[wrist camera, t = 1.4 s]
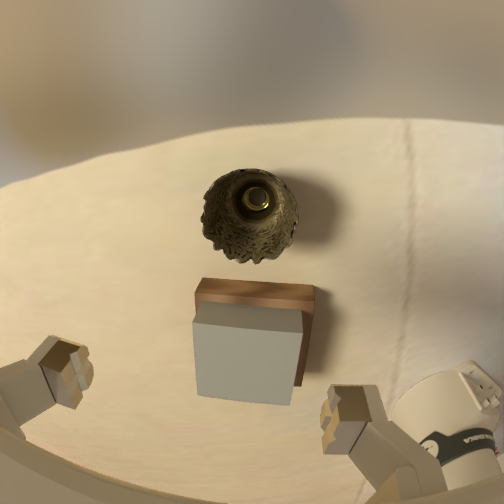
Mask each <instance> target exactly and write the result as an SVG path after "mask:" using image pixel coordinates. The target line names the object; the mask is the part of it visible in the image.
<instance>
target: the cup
mask: <svg viewBox="0 0 504 504" xmlns="http://www.w3.org/2000/svg"><path fill="white" fill-rule="evenodd" d="M254 189H260V190H262V191H263V192H264V193H265V201H264V203H263V204H261V205H254V204H252V203H251V202H250V200H249V194H250V192H251V191H252V190H254ZM203 199H205V200H206V201H205V205H204V212H203V215H202V216H201V222H202V223H203V230H202V232H203V235H204V237H205V238H207V239H209V240H211V241H213V249H214V250H218V251H219V250H220V249H223V252H224V254H225V255H226V257H227V258H228V259H229V260H232V259H236V261H237V262H239V263H245V262H247V261H249V260H250V259H252V260H253V263H254V264H259V263H260V262H261V260H262V259H268V260H273V259H276V258H277V257H278V256H279V255H280V254H281V253H282V252H283V250H284V249H285V248H288V247H289V246H290V245H291V244H292V241H293V239H292V235H293V232H294V231H295V228H296V223H298V222H299V214H298V211H297V203H296V200H295V198H294V196H293V194H292V193H291V191H290V190H289V189H288V187H287V186H286V185H285V184H284V182H283V181H281V180H280V179H279V178H278V177H276V176H275V175H273V174H272V173H270V172H267V171H265V170H261V169H238V170H235V171H232V172H230V173H228V174H226V175H223V176H221V177H220V178H218V179H217V180H216V181H215V182H214V183H213V184H212V185H211V187H210V188H209V190H208V191H207V192H206V193H205V195H204V198H203Z"/></svg>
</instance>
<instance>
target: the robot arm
mask: <svg viewBox="0 0 504 504" xmlns="http://www.w3.org/2000/svg"><path fill="white" fill-rule="evenodd" d="M88 356H89V351H88V348H87V347H86V346H85V345H82V344H79V343H76V342H72V341H69V340H66V339H63V338H60V337H57V336H54V335H50V336H48V337H47V338H46V339H45V340H44V341H43V343H42V344H41V345H40V346H39V347H38V348H37V349H36V350H35V351H34V352H33V354H32V355H31V356H30V357H29V358H28V359H27V360H24V359H23V360H20V361H18V362H15V363H12V364H10V365H7V366H5V367H2V368H0V504H226V503H219V502H212V501H206V500H200V499H195V498H189V497H184V496H180V495H175V494H170V493H166V492H162V491H158V490H154V489H150V488H146V487H143V486H139V485H136V484H132V483H129V482H126V481H122V480H119V479H116V478H113V477H110V476H107V475H104V474H102V473H99V472H96V471H93V470H91V469H88V468H86V467H83V466H80V465H78V464H76V463H73V462H71V461H68V460H66V459H64V458H62V457H59V456H57V455H55V454H53V453H51V452H48V451H46V450H44V449H42V448H40V447H38V446H36V445H34V444H32V443H30V442H28V441H26V436H25V434H24V433H23V431H22V430H21V428H20V426H21V425H23V424H24V423H26V422H27V421H29V420H31V419H32V418H34V417H36V416H37V415H39V414H41V413H42V412H44V411H45V410H47V409H49V408H50V407H52V406H54V405H55V404H56V403H58V404H60V405H63V406H66V407H69V408H72V409H76V407H77V406H78V404H79V403H80V401H81V399H82V398H83V394H82V391H84V390H86V389H88V388H89V386H90V385H91V383H92V379H93V375H94V374H93V366H92V363H91V362H90V361H89V360H88V359H87V357H88ZM327 393H328V399H327V400H325V401H324V403H323V406H322V409H321V415H320V423H321V428H322V429H323V430H324V431H325V432H324V435H323V437H322V445H323V454H344V455H346V454H349V455H348V456H349V457H350V459H351V460H352V461H353V462H354V464H355V465H356V466H357V467H358V469H359V470H360V471H361V472H362V474H363V475H364V476H365V477H366V479H367V480H368V481H369V482H370V483H371V485H372V486H373V487H374V488H375V490H376V492H375V493H374V494H373V496H372V497H371V498H370V499H369V500H368V501H367V502H366V503H365V504H504V473H503V472H502V470H501V467H500V465H499V463H498V461H497V458H496V456H495V455H497V454H498V453H499V452H497V453H495V451H496V449H497V447H496V448H495V439H494V438H493V432H494V430H495V428H496V426H497V424H498V422H499V420H500V413H499V411H498V409H497V406H498V405H499V404H500V403H501V402H500V400H499V398H500V396H501V394H502V390H501V388H500V387H499V385H498V384H497V383H495V382H494V381H493V380H492V379H491V378H490V377H489V376H488V375H487V374H486V373H485V372H484V371H483V370H482V369H481V368H480V367H479V366H478V365H477V364H476V363H475V362H474V361H472V360H469V361H467V362H465V363H463V364H461V365H459V366H457V367H456V368H454V369H451V370H448V371H444V372H440V373H437V374H434V375H432V376H430V377H428V378H426V379H424V380H422V381H420V382H419V383H417V384H416V385H414V386H413V387H412V388H410V389H409V390H408V391H407V392H406V393H405V394H404V395H403V396H402V397H401V398H400V399H399V400H398V401H397V403H396V404H395V406H394V408H393V411H392V415H391V419H392V421H388V419H387V416H386V413H385V409H384V406H383V403H382V400H381V397H380V393H379V390H378V387H377V386H376V385H344V384H331V386H330V387H329V389H328V392H327Z"/></svg>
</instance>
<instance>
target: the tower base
mask: <svg viewBox="0 0 504 504" xmlns="http://www.w3.org/2000/svg"><path fill="white" fill-rule="evenodd" d="M202 301H210V302H219V303H229V304H239V305H249V306H260V307H272V308H284V309H297V310H301V311H302V326H303V336H302V342H301V348H300V353H299V359H298V364H297V370H296V375H295V380H294V386H299V387H301V385H302V380H303V374H304V369H305V363H306V357H307V351H308V345H309V338H310V332H311V325H312V319H313V312H314V305H315V298H314V291H313V285H305V284H288V283H272V282H257V281H243V280H229V279H215V278H202V280H201V282H200V283H199V285H198V287H197V289H196V291H195V306H196V313H197V311H198V309H199V307H200V305H201V302H202Z"/></svg>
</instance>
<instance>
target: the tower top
mask: <svg viewBox="0 0 504 504" xmlns="http://www.w3.org/2000/svg"><path fill="white" fill-rule="evenodd" d="M192 326H193V342H194V356H195V369H196V381H197V392H198V396H204V397H211V398H218V399H226V400H234V401H242V402H252V403H262V404H274V405H289V406H290V401H291V396H292V391H293V386H294V380H295V375H296V370H297V364H298V359H299V353H300V348H301V342H302V336H303V326H302V311H301V310H297V309H284V308H272V307H260V306H249V305H239V304H229V303H219V302H210V301H202V302H201V305H200V307H199V309H198V311H197V313H196V315H195V318H194V320H193V322H192Z"/></svg>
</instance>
